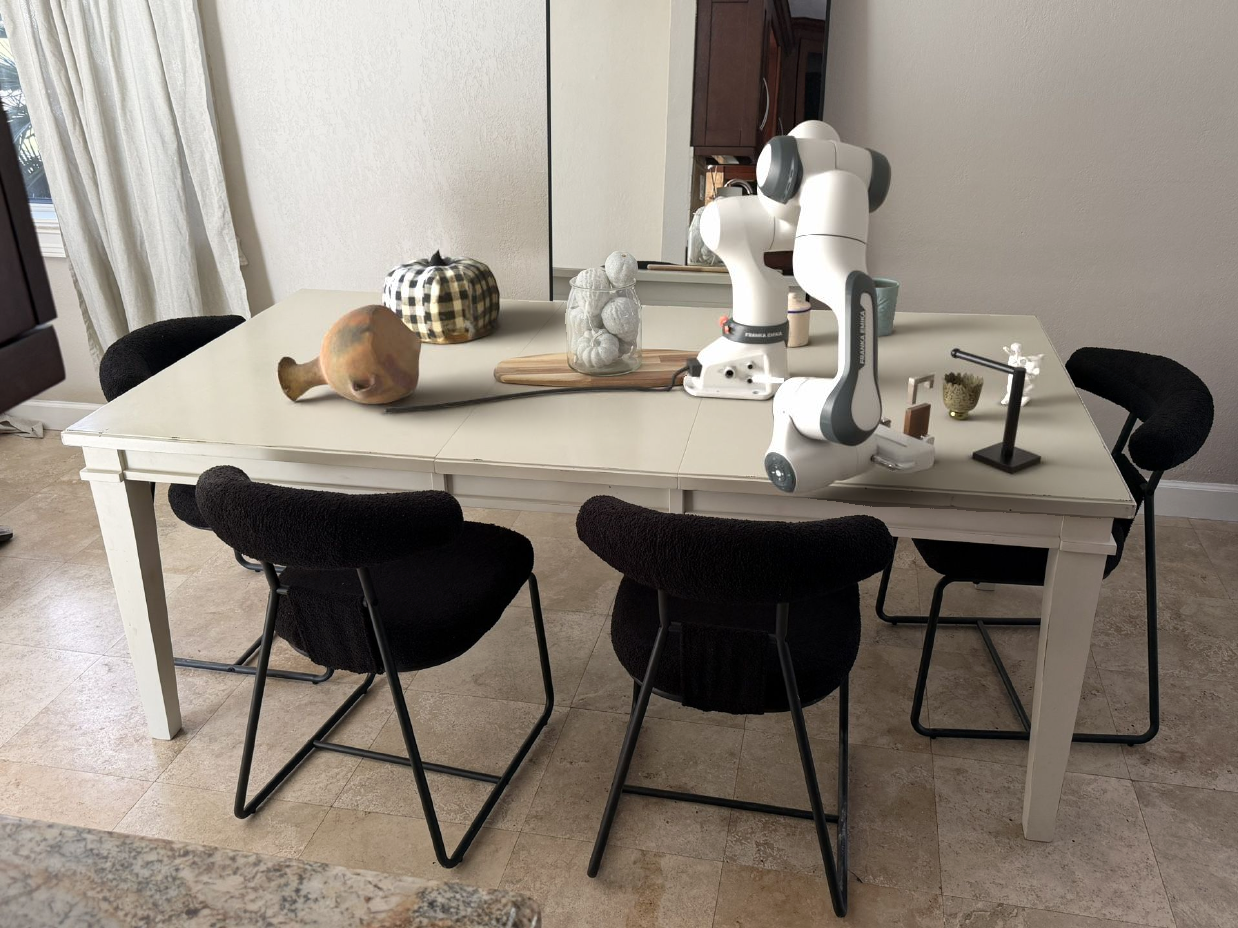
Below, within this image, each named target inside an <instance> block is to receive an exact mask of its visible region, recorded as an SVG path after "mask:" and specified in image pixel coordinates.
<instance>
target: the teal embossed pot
mask: <svg viewBox="0 0 1238 928" xmlns="http://www.w3.org/2000/svg"><path fill="white" fill-rule="evenodd" d="M871 279H872V280H873V282H874V284H875V287H876V292H877V302H878V337H884V336H890V335H891V334H892V333H893V329H894V320H895V315H896V308H897V301H898V299H897V298H898V295H899V290H900V289H899V288H900V282H899V281H897V280H894V279H890V278H883V277H871Z"/></svg>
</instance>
